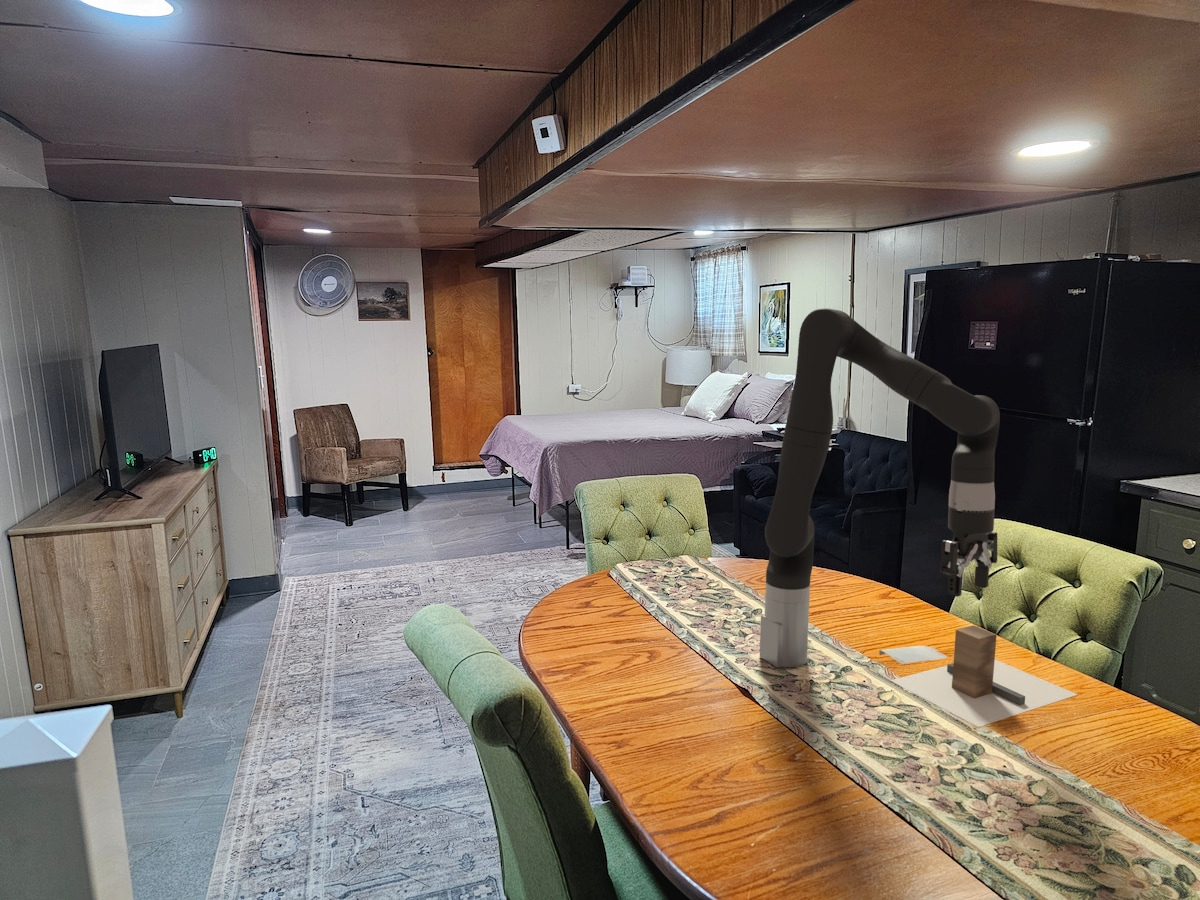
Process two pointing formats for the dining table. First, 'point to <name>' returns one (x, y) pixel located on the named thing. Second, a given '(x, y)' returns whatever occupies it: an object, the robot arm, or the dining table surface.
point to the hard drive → (913, 654)
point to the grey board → (1006, 699)
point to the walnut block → (974, 661)
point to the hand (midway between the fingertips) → (968, 591)
